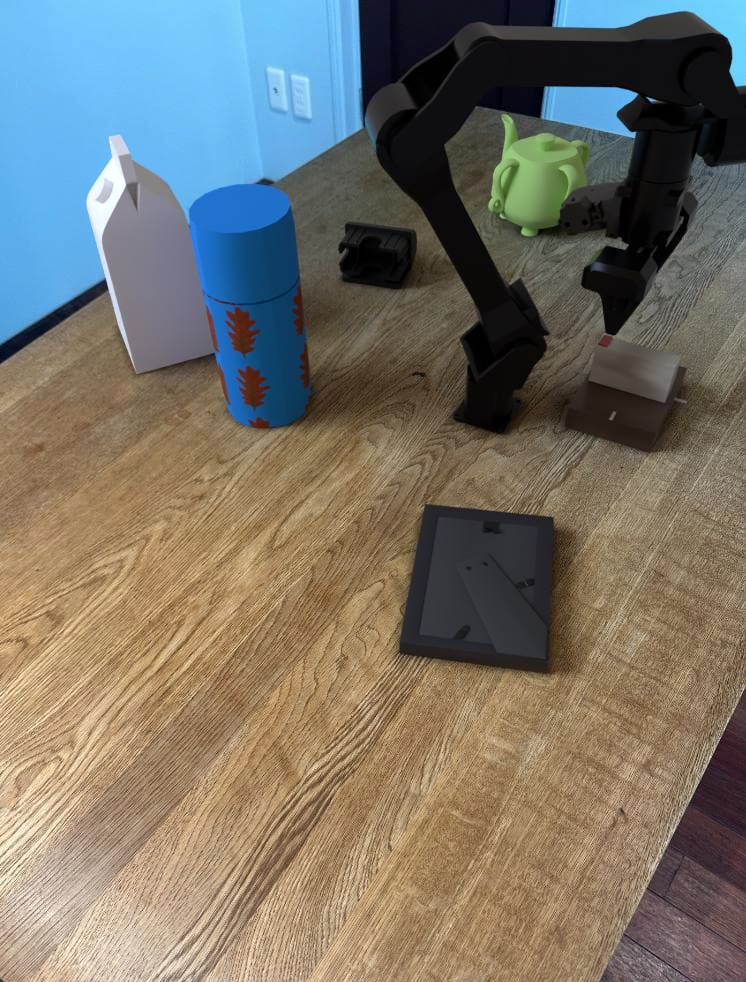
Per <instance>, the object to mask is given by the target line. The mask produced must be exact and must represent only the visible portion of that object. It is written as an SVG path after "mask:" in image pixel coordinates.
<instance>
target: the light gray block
mask: <svg viewBox="0 0 746 982" xmlns="http://www.w3.org/2000/svg"><path fill="white" fill-rule="evenodd" d="M681 361H682V356H680V355H677V354H673V353H670V352H666V351H662V350H660V349H655V348H651V347H649V346H648V347H647V346H644V345H641V344H636V343H633V342H630V341H626V340H622V339H618V338H615V337H613V335H609V334H603V335H601V337H600V338H599V340H598V341H597V343H596V344H595V348H594V353H593V357H592V362H591V367H590V370H591V371H590V370H589V372H590V376H589V381H592V382H595V383H598V384H602V385H605V386H608V387H612V388H615V389H619V390H622V391H625V392H629V393H632V394H636V395H639V396H642V397H646V398H649V399H653V400H656V401H659V402H663V403H665V402H666V400H667V398H668V396H669V395H670V393H671V390H672V386H673V383H674V380H675V377H676V374H677V370H678V367H679V366H680V364H681Z"/></svg>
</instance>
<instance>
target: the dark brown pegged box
mask: <svg viewBox="0 0 746 982" xmlns="http://www.w3.org/2000/svg"><path fill="white" fill-rule="evenodd" d="M590 371H591V369H590V370H589V372H588V373H587V372H585V371H581V370H577V369H574V370H573V373H575V374H578V375H581V376H586V377H585V378H584V380H583V382H582V383H581V384H580V387H579V388H578V390H577V391H576V393H575V395H574V397H572V400H571V402H570V403H569V405H568V407H567V412H566V417H565V420H564V427H565V428H567V429H571V430H574V431H578V432H581V433H584V434H587V435H590V436H594V437H596V438H600V439H603V440H607V441H610V442H614V443H617V444H620V445H623V446H626V447H630V448H633V449H636V450H640V451H642V452H646V453H651V451H652V449H653V447H654V445H655V442H656V441H657V439H658V437H659V435H660V432H661V431H662V428H663V426H664V424H665V422H666V420H667V418H668V416H669V415H670V412H671V409H672V407H673V406H674V404H675V402H679V403H682V404H685V405H687V403H688V400H686V399H682V398H679V397H678V395H679V393H680V391H681V389H682V386H683V383H684V381H685V376H686V374H687V371H688V367H685V366H682V365H679V367H678V370H677V374H676V377H675V380H674V383H673V386H672V390H671V393H670V395H669V396H668V398H667V400H666V402H665V403H663V402H659V401H656V400H653V399H649V398H646V397H642V396H639V395H636V394H632V393H629V392H625V391H622V390H619V389H615V388H612V387H608V386H605V385H602V384H598V383H595V382H592V381H589V376H590Z"/></svg>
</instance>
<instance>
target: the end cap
mask: <svg viewBox="0 0 746 982" xmlns="http://www.w3.org/2000/svg"><path fill="white" fill-rule="evenodd" d="M417 249H418V235H417V232H416V230H415V229H414V228H406V227H398V226H391V225H382V224H374V223H366V222H359V221H353V220H352V221H351V220H348V221H347V222H346V223H345V224H344V237H342V239H341V241H340V242H339V243H338V248H337V251H338V254H340V255H343V256H342V257H341V259H340V260H339V263H338V265H339V270H340V272H341V273H342V274H341V280H342V282H349V283H355V284H362V285H367V286H374V287H382V288H388V289H395V290H396V289H397V290H399V289H400V288H402V286H403V284H404V283H405V282H406V280H407V278H408V276H409V274H410V272H411V271H413V268H414V264H415V261H416V255H417V251H418V250H417ZM344 252H345V253H344ZM343 253H344V254H343Z"/></svg>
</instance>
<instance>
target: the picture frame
mask: <svg viewBox="0 0 746 982" xmlns="http://www.w3.org/2000/svg"><path fill="white" fill-rule="evenodd" d="M554 525H555V517H554V516H548V515H539V514H527V513H519V512H518V513H517V512H509V511H499V510H489V509H478V508H469V507H460V506H459V507H458V506H451V505H441V504H430V503H425V504H424V507H423V512H422V518H421V523H420V529H419V533H418V534H419V535H418V539H417V544H416V550H415V556H414V561H413V566H412V572H411V577H410V582H409V587H408V593H407V597H406V598H407V599H406V602H405V603H406V604H405V609H404V615H403V619H402V624H401V630H400V635H399V641H398V644H399V645H398V646H399V647H398V650H399V651H398V653H399V654H401V655H402V654H403V655H409V656H417V657H423V658H430V659H438V660H445V661H453V662H459V663H468V664H475V665H482V666H489V667H496V668H503V669H511V670H518V671H525V672H533V673H540V674H546V673H547V668H548V666H549V665H548V664H549V656H550V655H549V654H550V653H549V652H550V627H551V603H552V601H551V600H552V577H553V553H554V552H553V551H554Z"/></svg>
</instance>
